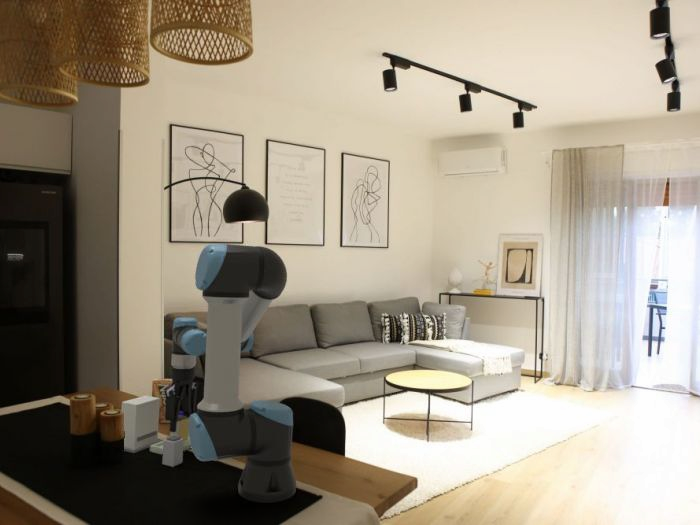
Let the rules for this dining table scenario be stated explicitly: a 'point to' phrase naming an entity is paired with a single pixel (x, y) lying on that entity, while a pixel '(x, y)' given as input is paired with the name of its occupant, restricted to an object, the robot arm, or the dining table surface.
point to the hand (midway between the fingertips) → (179, 439)
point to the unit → (140, 423)
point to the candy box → (161, 395)
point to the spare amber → (183, 427)
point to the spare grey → (172, 451)
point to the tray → (159, 446)
